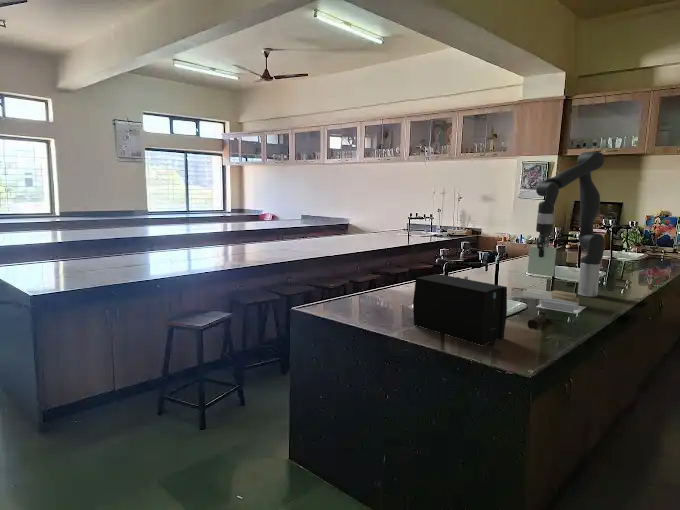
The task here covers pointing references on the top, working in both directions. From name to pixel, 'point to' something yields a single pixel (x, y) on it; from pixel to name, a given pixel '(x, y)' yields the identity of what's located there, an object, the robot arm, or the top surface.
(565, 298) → the offcut stack
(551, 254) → the sage board
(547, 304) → the grey rack
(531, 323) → the hand tool
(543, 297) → the white stand
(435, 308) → the uninterruptible power supply
